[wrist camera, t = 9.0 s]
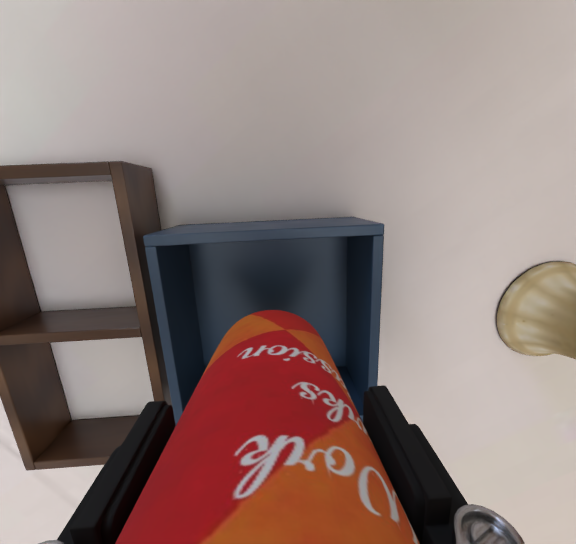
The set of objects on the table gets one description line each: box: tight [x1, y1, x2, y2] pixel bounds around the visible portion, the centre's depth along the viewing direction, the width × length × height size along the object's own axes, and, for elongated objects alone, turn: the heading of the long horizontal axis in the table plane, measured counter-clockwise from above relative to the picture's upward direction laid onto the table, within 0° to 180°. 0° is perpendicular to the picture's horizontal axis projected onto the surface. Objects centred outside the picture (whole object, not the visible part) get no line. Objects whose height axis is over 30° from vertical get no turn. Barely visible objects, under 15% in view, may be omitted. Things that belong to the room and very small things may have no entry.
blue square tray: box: [143, 217, 384, 425], centre depth 19 cm, size 13×13×6 cm
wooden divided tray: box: [0, 161, 172, 470], centre depth 20 cm, size 20×11×4 cm, turn 2°
